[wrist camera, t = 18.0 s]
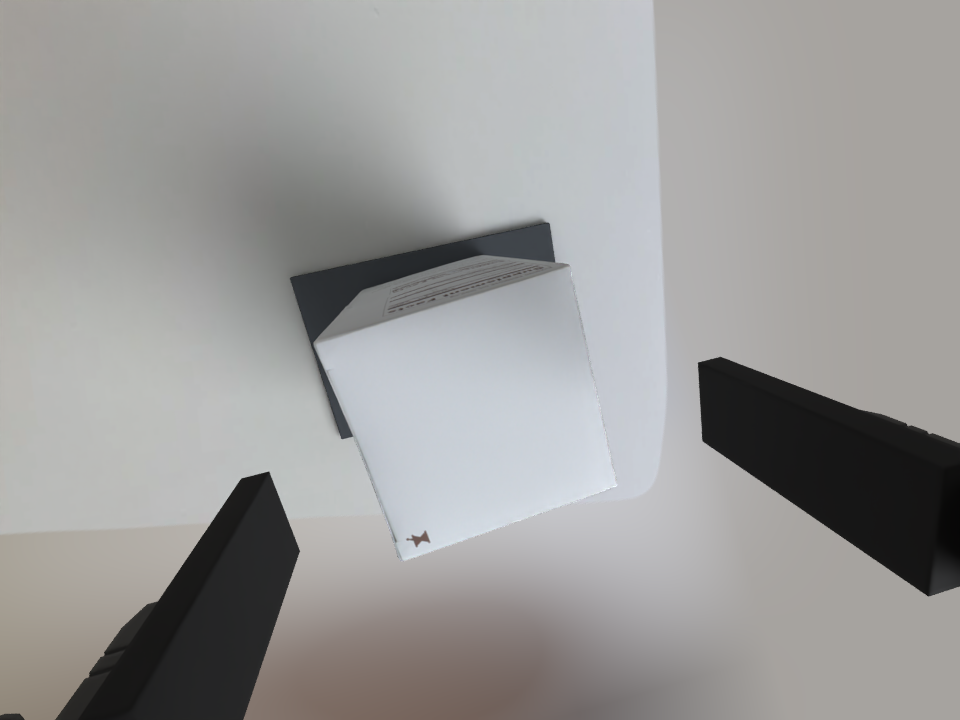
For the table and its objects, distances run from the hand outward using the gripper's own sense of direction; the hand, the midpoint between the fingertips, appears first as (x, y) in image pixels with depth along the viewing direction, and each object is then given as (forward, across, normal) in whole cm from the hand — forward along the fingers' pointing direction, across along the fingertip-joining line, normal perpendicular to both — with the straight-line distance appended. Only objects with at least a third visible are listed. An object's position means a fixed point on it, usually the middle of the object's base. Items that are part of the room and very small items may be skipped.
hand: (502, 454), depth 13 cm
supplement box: (+20, 0, 0) cm, 20 cm away
